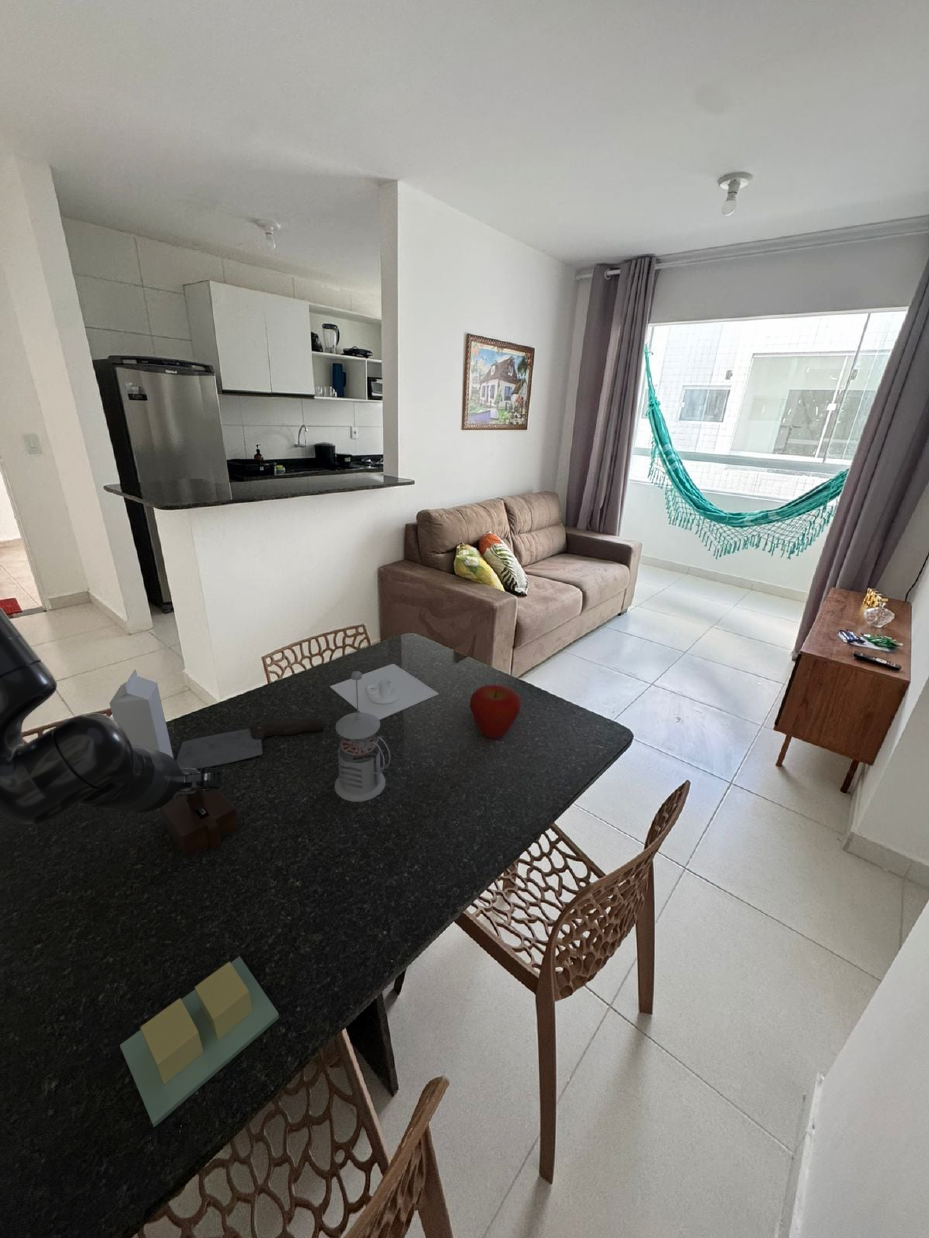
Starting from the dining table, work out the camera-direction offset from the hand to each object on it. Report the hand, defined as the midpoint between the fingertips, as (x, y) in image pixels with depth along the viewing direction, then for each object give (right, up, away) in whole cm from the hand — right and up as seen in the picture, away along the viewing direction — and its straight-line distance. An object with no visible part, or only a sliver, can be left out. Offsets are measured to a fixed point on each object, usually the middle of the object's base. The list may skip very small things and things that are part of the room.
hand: (178, 786), depth 77 cm
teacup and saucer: (+22, +7, +54) cm, 59 cm away
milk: (-17, -5, +22) cm, 28 cm away
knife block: (-2, -11, +11) cm, 15 cm away
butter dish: (+12, -24, -17) cm, 31 cm away
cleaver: (-2, -2, +32) cm, 32 cm away
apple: (+49, -1, +40) cm, 63 cm away
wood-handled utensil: (-2, -11, +11) cm, 15 cm away
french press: (+23, -7, +22) cm, 33 cm away
